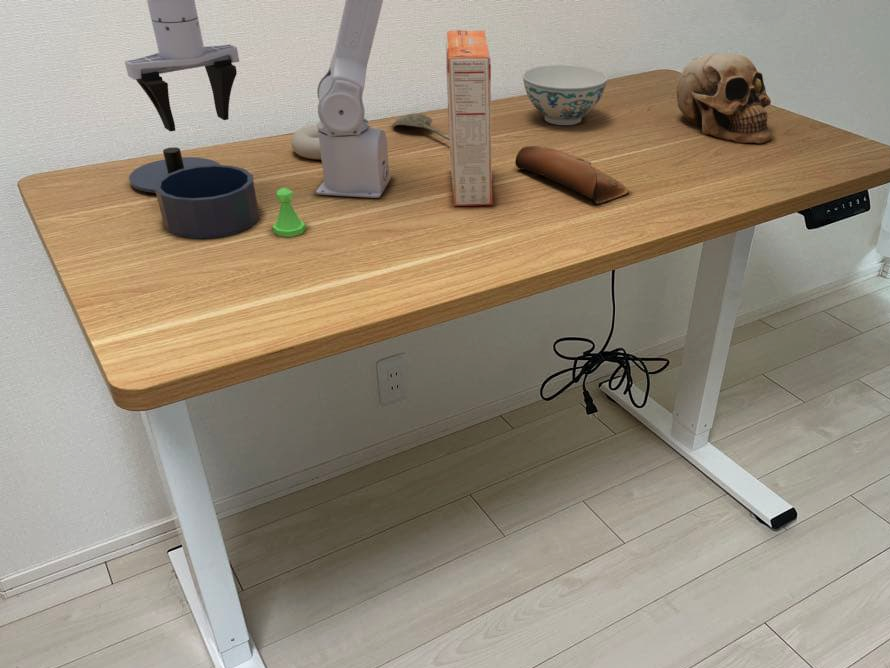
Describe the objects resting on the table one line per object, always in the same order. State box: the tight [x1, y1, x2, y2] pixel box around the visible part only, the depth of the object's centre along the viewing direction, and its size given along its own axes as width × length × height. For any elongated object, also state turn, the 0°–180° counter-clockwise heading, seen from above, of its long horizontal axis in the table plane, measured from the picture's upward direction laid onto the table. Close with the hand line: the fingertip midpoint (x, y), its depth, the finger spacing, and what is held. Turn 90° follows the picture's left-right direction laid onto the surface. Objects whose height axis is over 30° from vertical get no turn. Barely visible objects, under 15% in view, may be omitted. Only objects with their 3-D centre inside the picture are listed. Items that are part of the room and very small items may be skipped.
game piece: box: [272, 187, 307, 238], centre depth 112 cm, size 4×4×6 cm
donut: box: [290, 124, 322, 161], centre depth 137 cm, size 10×4×10 cm
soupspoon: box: [392, 113, 450, 141], centre depth 143 cm, size 22×3×7 cm
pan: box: [155, 164, 260, 240], centre depth 115 cm, size 12×12×5 cm
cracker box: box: [445, 29, 493, 207], centre depth 121 cm, size 14×6×21 cm, turn 5°
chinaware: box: [522, 64, 608, 126], centre depth 152 cm, size 15×15×8 cm
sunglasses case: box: [515, 145, 630, 205], centre depth 129 cm, size 18×7×7 cm
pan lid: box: [128, 146, 222, 194], centre depth 126 cm, size 13×13×5 cm
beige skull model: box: [676, 52, 772, 144], centre depth 150 cm, size 16×17×13 cm
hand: (197, 123), depth 117 cm, fingers open, 7 cm apart
